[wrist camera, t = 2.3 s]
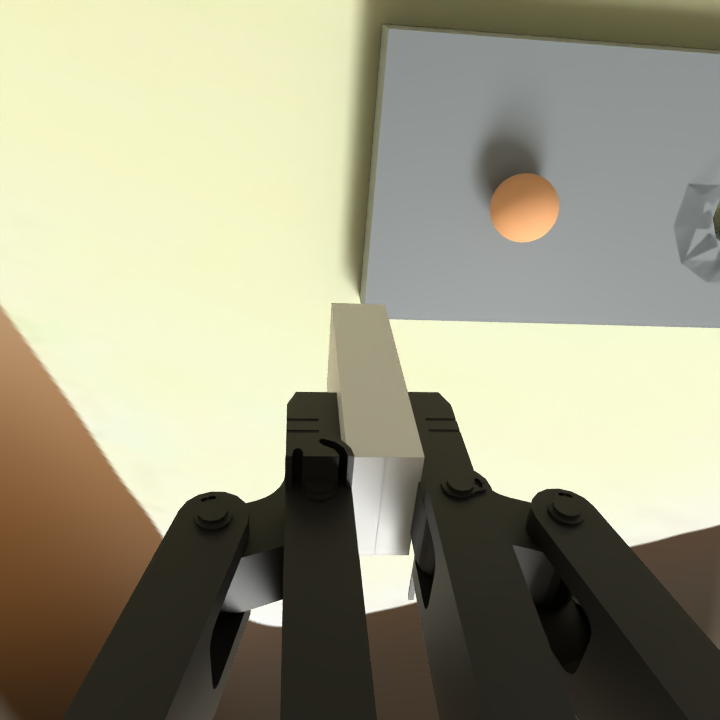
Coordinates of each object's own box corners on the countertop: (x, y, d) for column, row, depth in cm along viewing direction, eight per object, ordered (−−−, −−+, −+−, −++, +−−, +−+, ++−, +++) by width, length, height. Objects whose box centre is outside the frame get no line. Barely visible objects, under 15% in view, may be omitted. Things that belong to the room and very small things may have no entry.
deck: (359, 297, 36) (363, 318, 34) (382, 24, 29) (388, 28, 27) (805, 311, 39) (833, 331, 37) (927, 66, 32) (971, 73, 30)
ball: (488, 163, 30) (507, 182, 28) (552, 166, 31) (577, 186, 28) (477, 227, 32) (493, 251, 29) (538, 229, 32) (559, 254, 30)
